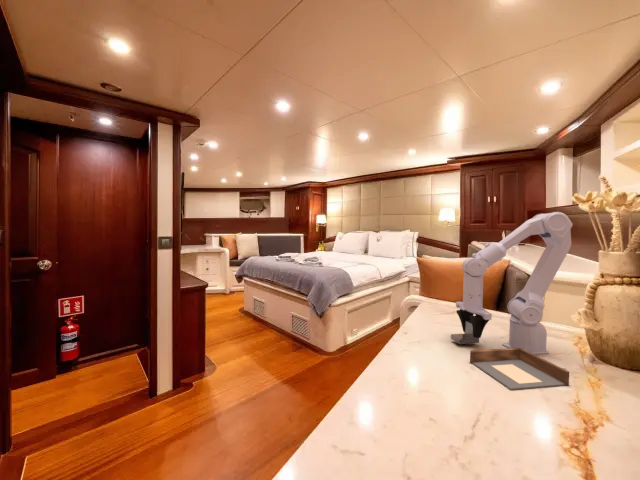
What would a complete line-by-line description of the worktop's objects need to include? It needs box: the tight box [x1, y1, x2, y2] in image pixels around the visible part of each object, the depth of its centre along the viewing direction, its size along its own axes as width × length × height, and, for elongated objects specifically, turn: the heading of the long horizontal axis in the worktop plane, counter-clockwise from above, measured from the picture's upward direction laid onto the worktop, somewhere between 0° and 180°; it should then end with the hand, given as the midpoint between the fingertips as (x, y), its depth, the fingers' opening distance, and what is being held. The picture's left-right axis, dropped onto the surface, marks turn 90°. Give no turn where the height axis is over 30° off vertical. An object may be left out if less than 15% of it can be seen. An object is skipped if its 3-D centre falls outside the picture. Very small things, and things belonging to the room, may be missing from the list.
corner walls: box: [469, 347, 570, 387], centre depth 73 cm, size 16×14×3 cm
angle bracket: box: [450, 320, 480, 345], centre depth 92 cm, size 7×4×6 cm, turn 99°
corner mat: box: [469, 359, 570, 391], centre depth 73 cm, size 16×14×1 cm
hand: (471, 334), depth 92 cm, fingers closed on angle bracket, 4 cm apart
